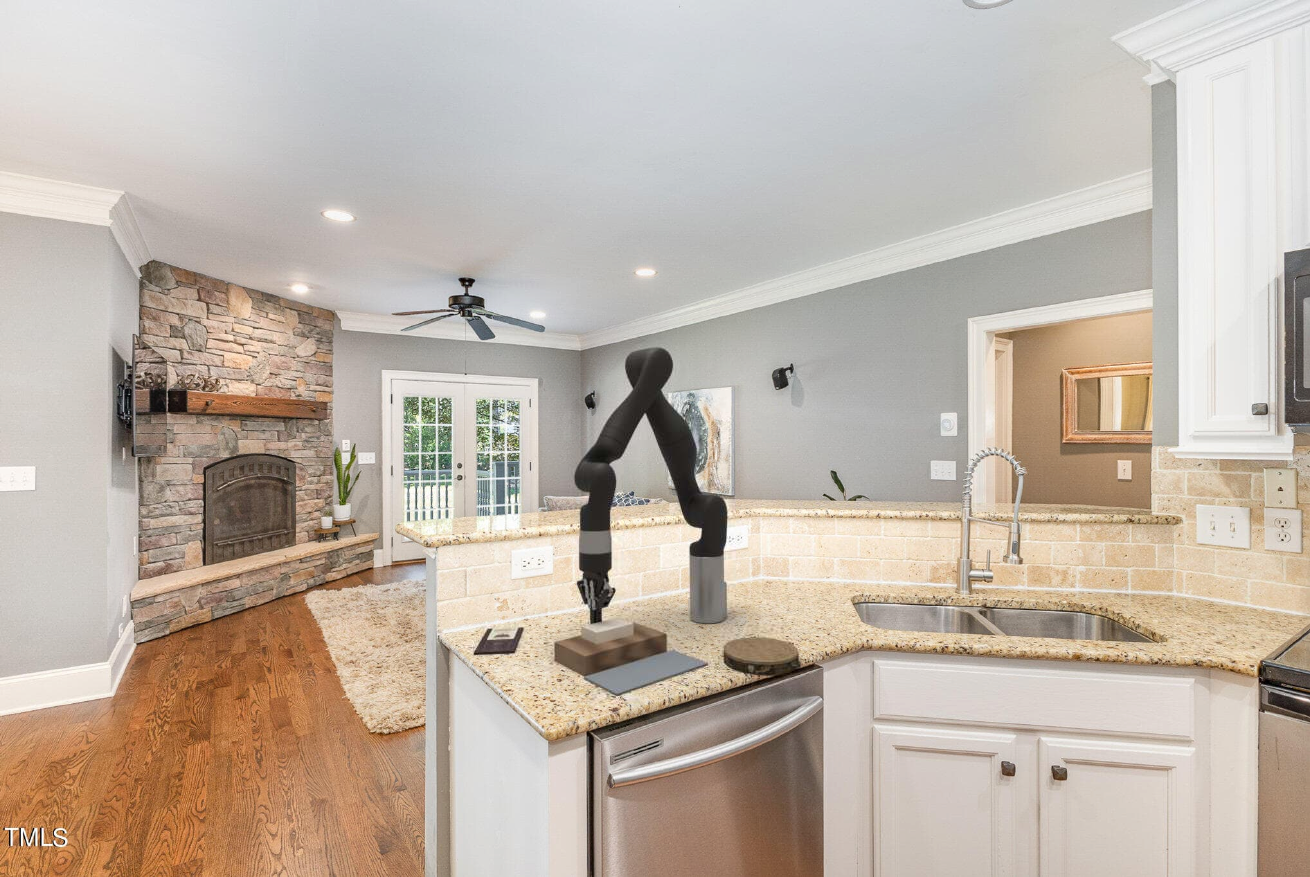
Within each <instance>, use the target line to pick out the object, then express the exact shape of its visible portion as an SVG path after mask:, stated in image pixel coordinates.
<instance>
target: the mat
mask: <svg viewBox="0 0 1310 877" xmlns="http://www.w3.org/2000/svg"><path fill="white" fill-rule="evenodd" d="M708 665H709V662H706V661H703V660H701V659H698V658H696V657H693V656H691V655H688V654H685V653H682V652H679V651H677V650H674V649H671V650H667V652H664V653H660V654H657V655H654V656H650V657H647V658H644V659H641V660H637V661H634V662H631V663H627V664H624V665H621V666H617V667H614V668H611V669H607V670H604V671H601V672H597V673H594V674H591V675H587V676H583V679H584V680H585V681H587V682H589V683H591V684H593V685H595V686H597V687H599V688H601V689H603V690H605V691H607V692H608V693H610V694H612V693H613V694H612V695H614V696H616V697H618V696H620V695H623V694H622V693H624V694H626V692H627V693H630V692H632V690H633V691H635V689H636V690H638V688H639V689H641V687H642V688H644V687H647V686H650V685H653V684H656V683H658V681H659V682H662V681H665V680H668V679H670V677H671V678H673V677H677V676H680V675H682V674H686V673H688V672H691V671H695V670H697V669H700V668H703V667H706V666H708ZM676 675H677V676H676ZM664 679H665V680H664ZM655 682H656V683H655ZM652 683H653V684H652ZM649 684H650V685H649ZM643 686H644V687H643ZM629 691H630V692H629Z"/></svg>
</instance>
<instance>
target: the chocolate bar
mask: <svg viewBox="0 0 1310 877" xmlns="http://www.w3.org/2000/svg"><path fill="white" fill-rule="evenodd" d="M524 629H525V627H524V626H523V627H498V628H497V627H495V628H494V627H493V628H487V629H486V630H485V632H484V634H483V636H482V638H481V639H480V641H479V643H478V645H477V646H476V648H475V650H474V651H473V656H486V655H487V656H488V655H509V654H510V655H511V654H514V655H515V653H516V651H517V648H518V645H519V644H520V640H521V638H522V634H523V632H524Z"/></svg>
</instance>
